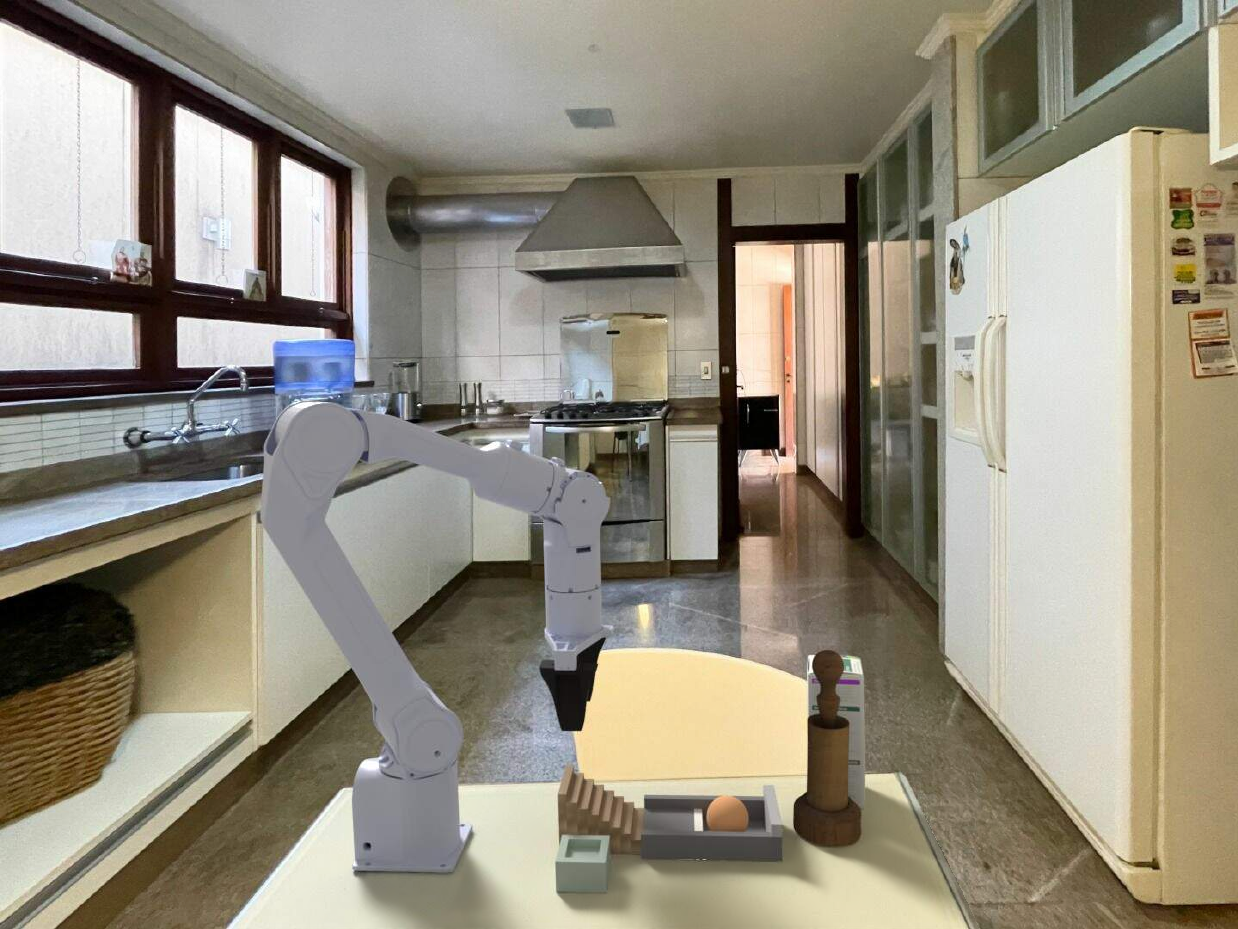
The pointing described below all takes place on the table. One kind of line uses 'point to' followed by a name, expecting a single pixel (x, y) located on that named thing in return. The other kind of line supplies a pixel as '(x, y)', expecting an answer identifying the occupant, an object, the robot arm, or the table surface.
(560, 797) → the staircase
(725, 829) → the ball
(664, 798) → the lane
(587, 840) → the hollow square container
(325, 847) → the table surface
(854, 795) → the syrup box
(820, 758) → the mortar and pestle
